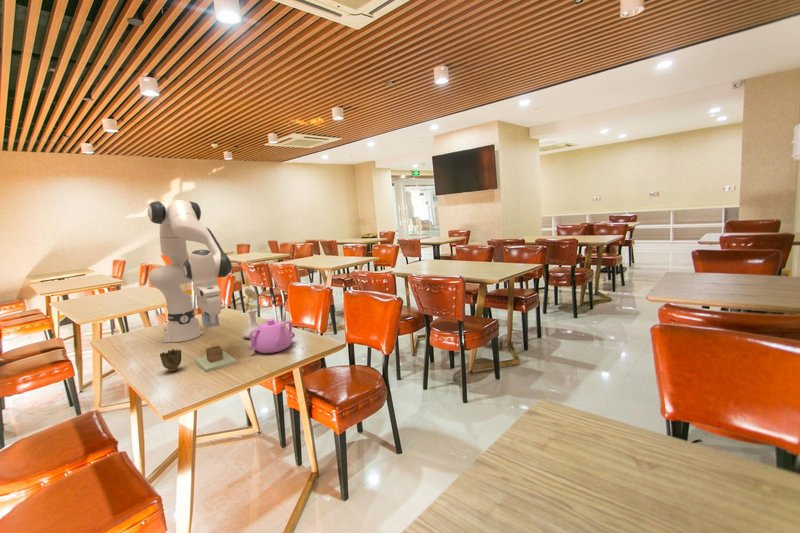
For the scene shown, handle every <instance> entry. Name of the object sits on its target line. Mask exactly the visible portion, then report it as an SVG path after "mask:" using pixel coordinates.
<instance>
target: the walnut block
mask: <svg viewBox="0 0 800 533" xmlns="http://www.w3.org/2000/svg"><path fill="white" fill-rule="evenodd" d="M222 352H223V348H222V347H221V346H220V345H214V346H210V347H207V348H205V354H206V355H205V356H207V360H208V361H209V362H210V363H212V362H216V361H219V360H223V353H222Z"/></svg>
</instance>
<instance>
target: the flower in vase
mask: <svg viewBox="0 0 800 533" xmlns="http://www.w3.org/2000/svg"><path fill="white" fill-rule="evenodd" d="M243 292H244V294H245V295H246V296H247V297H248V300H247V301H248V302H245V305H244V306H246V307H248V308H250V309H248V310H246V313H248V315H249V317H250V322H251V323H250V326H248V328H246V330H244V332H243V333H242V337H243V338H246V339H250V337H249V334H250V332H251V331H252V330H254V329H258V327H259V326H260V325H258V323H257V318H256V315H257V312H258V309H257V308H253V309H252V307H255V304H254V305H251V306H250V299H251V300H254V301H256V300H258V299H259V295H258V294H257V293H256V291H254V290H253V289H252V288H248V287H246V288H245V289H244V291H243ZM255 333H256V332H254V333H253V335H252V336H253V338H254V335H255Z"/></svg>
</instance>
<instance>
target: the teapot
mask: <svg viewBox="0 0 800 533" xmlns="http://www.w3.org/2000/svg"><path fill="white" fill-rule="evenodd" d="M286 324H288V326H289V327H287V325H286ZM292 331H293V322H291V321H290V320H284V321H281V320H275V319H274V318H269V319H268V318H267V320H266V322H263V323H261V324H260V325H259V327H258V329H254V330H252V331H251V332H250V334H249V337H250V338H249V339H250V342H251V343H249V345H248V350H250V351H254V350H255V351H257V353H260V354H261V353H262V354H272V353H273V354H274V353H277V352H281V351H284V350H286V349H287V348H289V347H290V346H291V344H292V343H293V338H294V337H295V335H296V334H295V333H294V332H292ZM254 332H256V333H255V335H254V338H253V336H252V335H253V333H254Z"/></svg>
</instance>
